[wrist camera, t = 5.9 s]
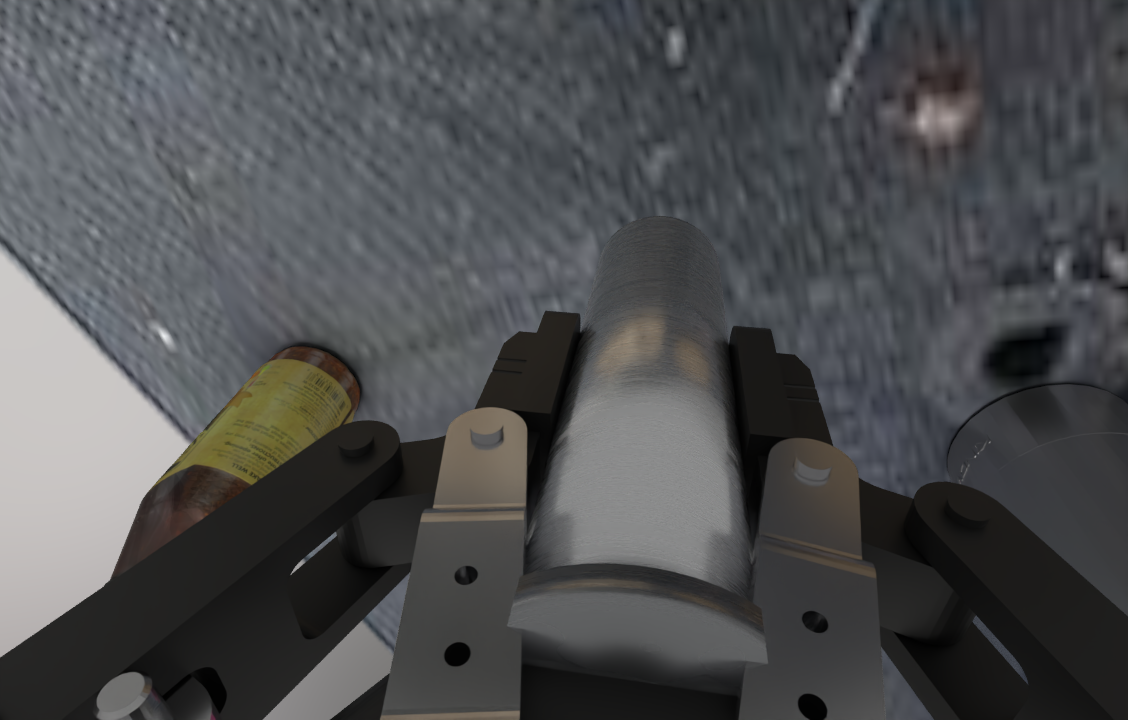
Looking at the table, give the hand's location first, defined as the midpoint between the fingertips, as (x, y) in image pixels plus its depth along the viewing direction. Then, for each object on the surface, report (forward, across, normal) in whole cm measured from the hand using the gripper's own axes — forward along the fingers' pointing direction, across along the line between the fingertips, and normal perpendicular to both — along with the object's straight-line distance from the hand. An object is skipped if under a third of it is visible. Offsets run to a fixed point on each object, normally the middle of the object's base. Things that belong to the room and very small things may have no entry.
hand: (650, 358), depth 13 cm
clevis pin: (+4, 0, 0) cm, 4 cm away
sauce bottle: (+19, +20, +16) cm, 32 cm away
